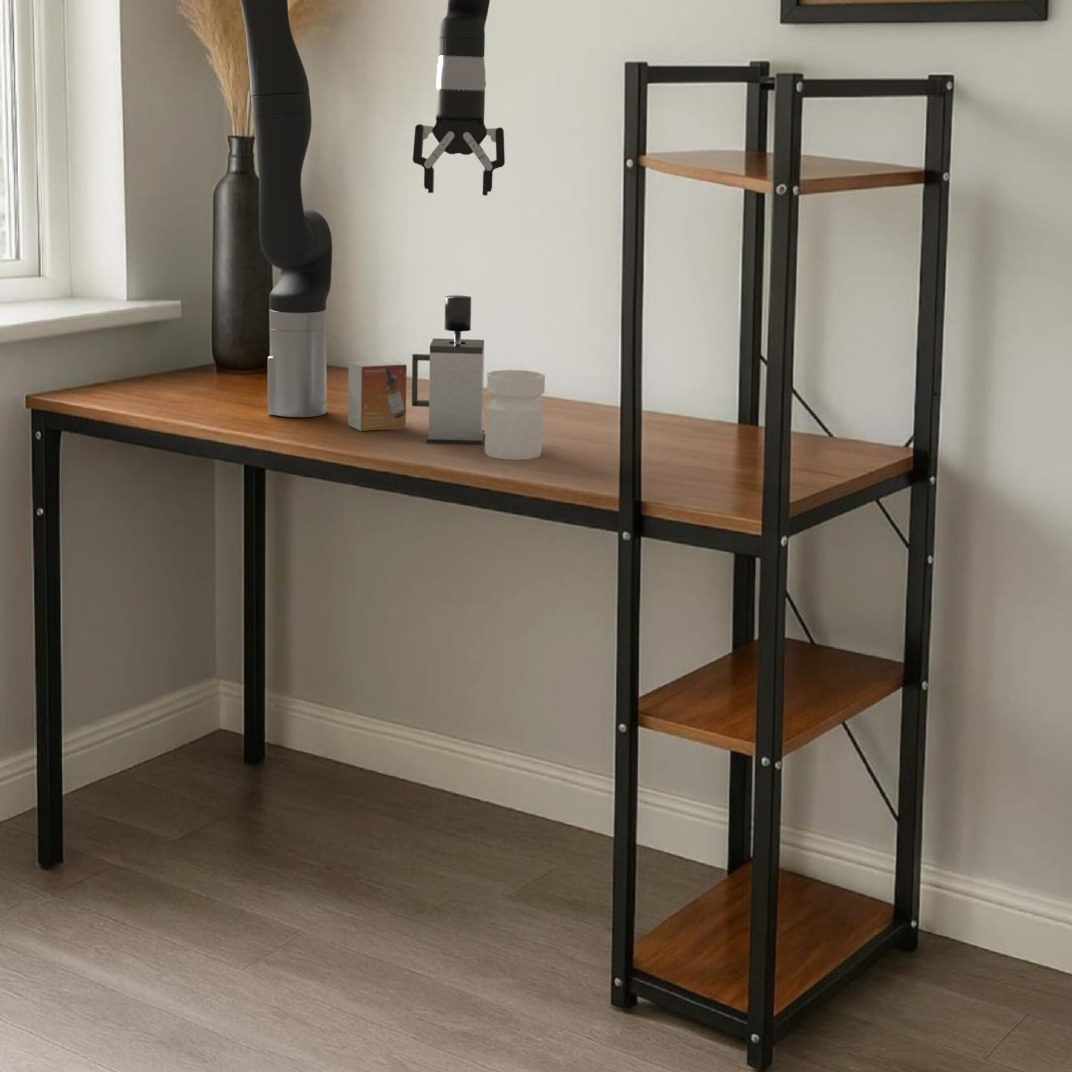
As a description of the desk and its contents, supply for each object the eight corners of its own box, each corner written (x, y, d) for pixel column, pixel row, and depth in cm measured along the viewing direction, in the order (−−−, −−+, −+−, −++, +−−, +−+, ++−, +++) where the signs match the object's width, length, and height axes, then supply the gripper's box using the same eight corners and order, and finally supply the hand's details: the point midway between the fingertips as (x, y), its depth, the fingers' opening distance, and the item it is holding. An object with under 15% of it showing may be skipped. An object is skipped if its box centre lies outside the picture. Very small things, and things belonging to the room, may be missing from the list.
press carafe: (409, 442, 259) (410, 345, 255) (413, 431, 267) (414, 337, 263) (482, 444, 259) (484, 347, 255) (484, 433, 267) (486, 339, 263)
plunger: (438, 434, 260) (440, 298, 255) (440, 427, 265) (442, 294, 260) (471, 435, 260) (474, 299, 255) (473, 428, 265) (475, 295, 260)
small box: (360, 432, 265) (360, 366, 263) (347, 425, 270) (347, 360, 268) (407, 429, 269) (407, 363, 266) (393, 422, 274) (393, 358, 271)
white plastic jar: (497, 461, 248) (499, 380, 245) (476, 449, 256) (477, 371, 252) (551, 457, 251) (554, 378, 248) (528, 446, 259) (531, 368, 256)
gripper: (412, 85, 256) (410, 193, 260) (505, 89, 256) (502, 197, 260) (416, 85, 263) (414, 190, 267) (507, 89, 263) (504, 194, 267)
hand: (458, 194), depth 264 cm, fingers open, 8 cm apart
